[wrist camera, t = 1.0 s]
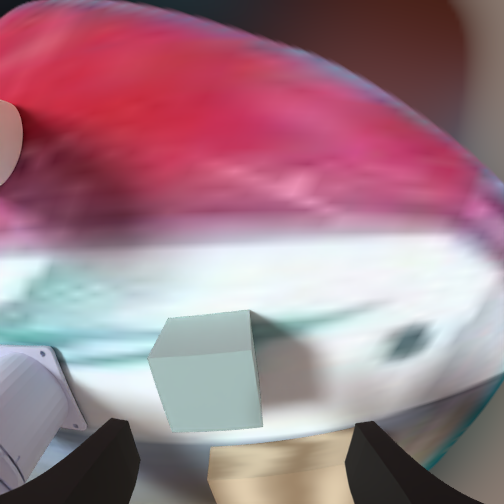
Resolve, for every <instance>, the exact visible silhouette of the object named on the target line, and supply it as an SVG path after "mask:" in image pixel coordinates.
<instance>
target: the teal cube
mask: <svg viewBox="0 0 504 504" xmlns="http://www.w3.org/2000/svg"><path fill="white" fill-rule="evenodd" d="M147 359H148V362H149V366H150V369H151V372H152V375H153V378H154V381H155V385H156V388H157V391H158V394H159V396H160V399H161V402H162V405H163V408H164V411H165V414H166V416H167V419H168V422H169V425H170V427H171V430H172V432H207V431H225V430H238V429H249V428H259V427H263V420H262V409H261V397H260V385H259V375H258V368H257V361H256V354H255V347H254V340H253V333H252V326H251V319H250V311H249V310H241V311H233V312H224V313H215V314H206V315H196V316H186V317H175V318H168V319H167V321H166V323H165V325H164V327H163V329H162V331H161V333H160V335H159V337H158V339H157V340H156V342H155V344H154V346H153V348H152V350H151V352H150V354H149V356H148V358H147Z"/></svg>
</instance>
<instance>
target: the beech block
mask: <svg viewBox="0 0 504 504" xmlns="http://www.w3.org/2000/svg"><path fill="white" fill-rule="evenodd" d="M354 428H355V427H353V428H349V429H344V430H340V431H335V432H330V433H325V434H320V435H314V436H309V437H303V438H296V439H290V440H282V441H275V442H266V443H257V444H247V445H234V446H218V447H211V449H210V458H209V468H208V477H207V481H208V483H209V486H210V488H211V491H212V493H213V495H214V498H215V500H216V503H217V504H354V501H353V498H352V495H351V492H350V489H349V485H348V479H347V474H346V468H345V463H344V462H345V459H346V456H347V453H348V449H349V446H350V442H351V439H352V435H353V432H354Z"/></svg>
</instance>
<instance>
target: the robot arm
mask: <svg viewBox="0 0 504 504" xmlns="http://www.w3.org/2000/svg"><path fill="white" fill-rule="evenodd" d="M43 352H44V353H45V354H44V353H43ZM59 428H67V429H74V430H82V431H85V430H86V428H87V424H86V422H85V420H84V418H83V416H82V414H81V412H80V410H79V408H78V406H77V404H76V402H75V400H74V397H73V395H72V393H71V391H70V388H69V386H68V384H67V382H66V379H65V377H64V374H63V372H62V370H61V367H60V365H59V362H58V360H57V357H56V354H55V352H54V350H53V349H52V348H51V347H50V346H23V345H0V504H129V501H130V499H131V496H132V493H133V490H134V487H135V484H136V480H137V475H138V470H139V465H140V457H139V454H138V451H137V448H136V445H135V442H134V439H133V436H132V432H131V429H130V426H129V423H128V421H126V420H120V419H114V418H111V419H110V420H108V421H107V422H106V423H105V424H104V425H103V426H102V427H100V428H99V429H98V430H97V431H96V432H95V433H94V434H92V435H91V436H90V437H89V438H88V439H87V440H86V441H85V442H83V443H82V444H81V445H80V446H79V447H77V448H76V449H75V450H74V451H73V452H71V453H70V454H69V455H68V456H66V457H65V458H64V459H63V460H61V461H60V462H59V463H57V464H56V465H54V466H53V467H52V468H50V469H49V470H47V471H46V472H44V473H43V474H41V475H40V476H38V477H36V478H35V479H33V480H31V481H29V482H28V483H26V481H27V479H28V478H29V476H30V474H31V473H32V471H33V470H34V468H35V466H36V465H37V463H38V461H39V460H40V458H41V457H42V455H43V453H44V452H45V450H46V449H47V447H48V445H49V444H50V442H51V441H52V439H53V438H54V436H55V435H56V433H57V431H58V430H59ZM344 463H345V468H346V474H347V479H348V485H349V489H350V492H351V495H352V498H353V501H354V504H484V503H481V502H479V501H477V500H474V499H472V498H470V497H468V496H466V495H464V494H462V493H461V492H459V491H457V490H455V489H454V488H452V487H450V486H449V485H447V484H445V483H444V482H443V481H441V480H440V479H438V478H437V477H435V476H434V475H433V474H431V473H430V472H429V471H427V470H426V469H425V468H424V467H422V466H421V465H420V464H419V463H418V462H416V461H415V460H414V459H413V458H412V457H411V456H410V455H408V454H407V453H406V452H405V451H404V450H403V449H402V448H401V447H400V446H399V445H398V444H397V443H395V442H394V441H393V440H392V439H391V438H390V437H389V436H388V435H387V434H386V433H385V432H384V431H383V430H382V429H381V428H380V427H379V426H378V425H377V424H376V423H375V422H374V421H370V422H363V423H356V424H355V428H354V432H353V435H352V439H351V442H350V446H349V449H348V453H347V456H346V459H345V462H344ZM25 483H26V484H25Z"/></svg>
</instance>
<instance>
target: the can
mask: <svg viewBox="0 0 504 504" xmlns="http://www.w3.org/2000/svg"><path fill="white" fill-rule="evenodd" d="M22 143H23V128H22V121H21V117H20V114H19V112H18V110H17V108H16V107H15V106H14V105H13V104H11V103H9V102H6V101H3V100H0V186H1V185H2V184H3V183H4V182H5V181H6V180H7V179H8V178H9V176H10V175H11V173H12V172H13V170H14V168H15V166H16V164H17V162H18V159H19V156H20V153H21V149H22Z"/></svg>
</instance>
